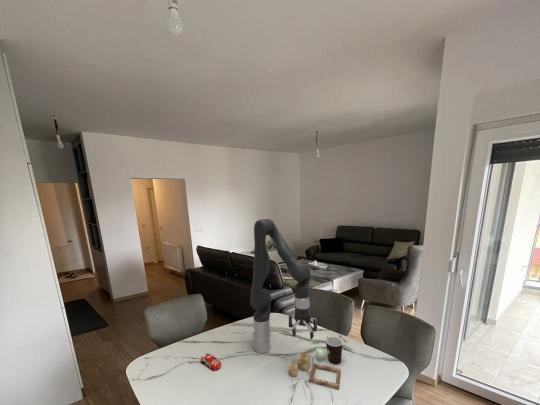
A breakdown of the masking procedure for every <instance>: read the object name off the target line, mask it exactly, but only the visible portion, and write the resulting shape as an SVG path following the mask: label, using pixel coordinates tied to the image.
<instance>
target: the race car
mask: <svg viewBox="0 0 540 405" xmlns="http://www.w3.org/2000/svg"><path fill="white" fill-rule="evenodd" d="M200 363H201V364H202V365H203V366H205V367H207V368H208V369H209V370H211V371H217V370H219V369H220V368H221V367H222V362H221V361H220V360H219V359H218V357H216V356H215V355H213V354H211V353H207V352H206V353H205V354H203V355H201V357H200Z"/></svg>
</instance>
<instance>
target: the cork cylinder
mask: <svg viewBox="0 0 540 405" xmlns="http://www.w3.org/2000/svg"><path fill="white" fill-rule="evenodd" d="M288 375H289V377H290V378H296V377H298V362H296V361H293V360H292V361H290V362H288Z"/></svg>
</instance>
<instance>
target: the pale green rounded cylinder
mask: <svg viewBox="0 0 540 405" xmlns="http://www.w3.org/2000/svg"><path fill="white" fill-rule="evenodd" d="M315 357H316V358H315V360H316V361H317V362H318V361H319V362H318V363H323V361H324V360H325V349H324V348H323V347H317V348H316V349H315ZM324 362H325V361H324Z"/></svg>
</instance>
